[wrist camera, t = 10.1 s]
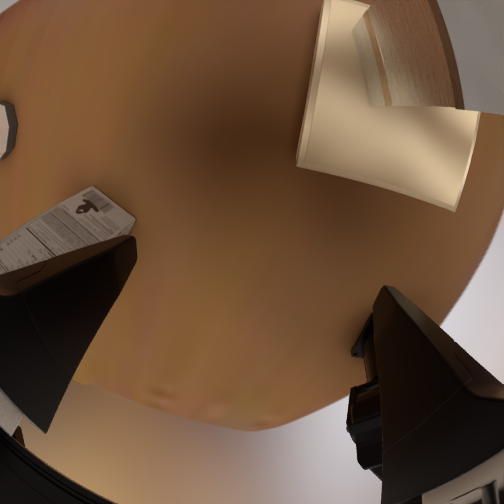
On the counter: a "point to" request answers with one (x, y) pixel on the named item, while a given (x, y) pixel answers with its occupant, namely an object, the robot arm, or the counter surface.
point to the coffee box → (65, 229)
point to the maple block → (378, 124)
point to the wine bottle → (7, 128)
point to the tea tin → (433, 53)
